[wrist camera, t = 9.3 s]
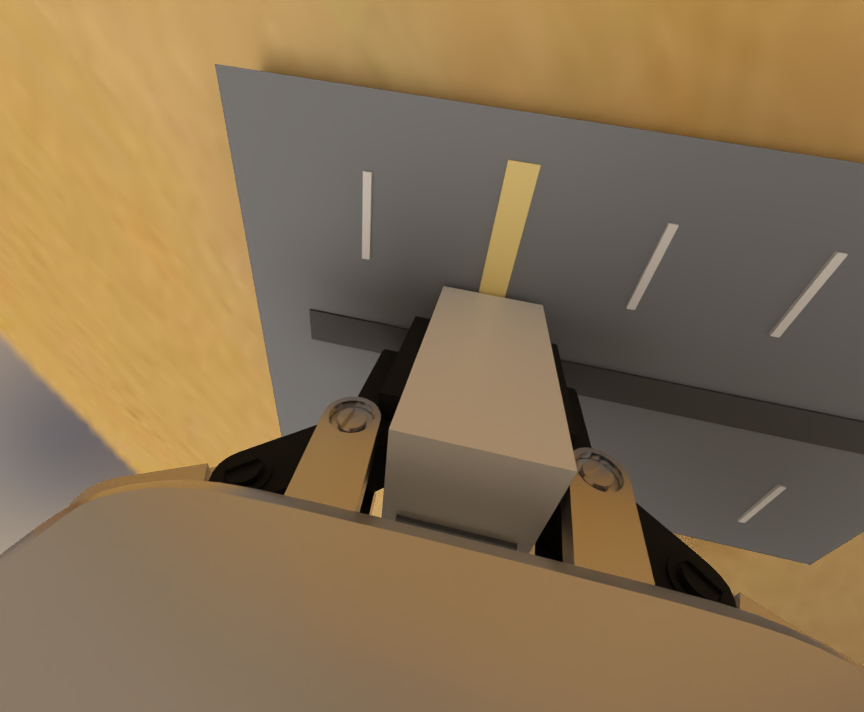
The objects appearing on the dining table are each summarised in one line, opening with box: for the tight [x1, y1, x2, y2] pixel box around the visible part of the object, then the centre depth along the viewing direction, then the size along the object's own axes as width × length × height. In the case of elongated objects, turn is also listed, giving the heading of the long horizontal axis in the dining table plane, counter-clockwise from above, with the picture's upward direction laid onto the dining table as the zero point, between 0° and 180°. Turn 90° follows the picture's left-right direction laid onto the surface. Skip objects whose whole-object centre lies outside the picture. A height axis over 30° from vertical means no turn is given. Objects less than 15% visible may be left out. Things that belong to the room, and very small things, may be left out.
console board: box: [215, 64, 864, 565], centre depth 12 cm, size 24×14×2 cm, turn 82°
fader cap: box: [382, 286, 577, 554], centre depth 9 cm, size 3×5×6 cm, turn 172°
